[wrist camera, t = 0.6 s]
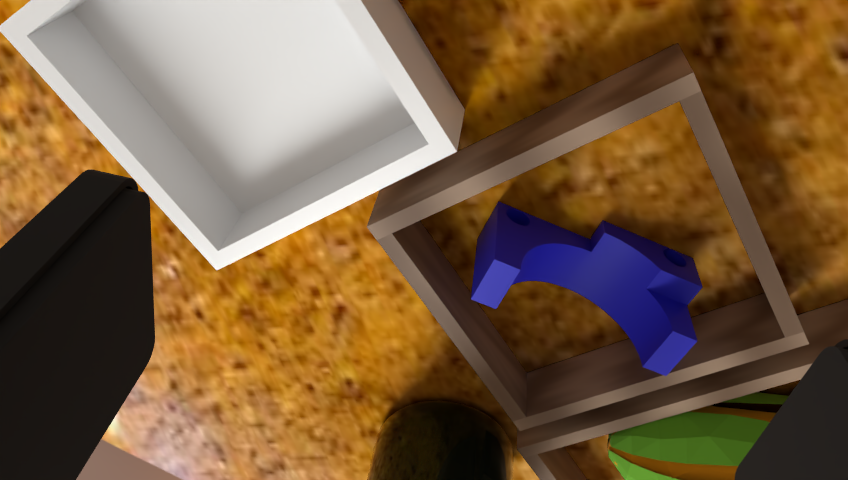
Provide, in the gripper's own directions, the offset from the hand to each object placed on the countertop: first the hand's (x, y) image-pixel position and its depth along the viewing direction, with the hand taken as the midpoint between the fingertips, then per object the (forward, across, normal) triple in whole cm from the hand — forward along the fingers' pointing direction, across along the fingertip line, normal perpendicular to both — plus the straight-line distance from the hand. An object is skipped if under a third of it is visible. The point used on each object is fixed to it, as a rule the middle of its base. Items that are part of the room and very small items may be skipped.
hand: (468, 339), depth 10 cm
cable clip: (+28, -9, +16) cm, 34 cm away
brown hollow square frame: (+28, -9, +15) cm, 33 cm away
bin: (+28, +11, +8) cm, 31 cm away
